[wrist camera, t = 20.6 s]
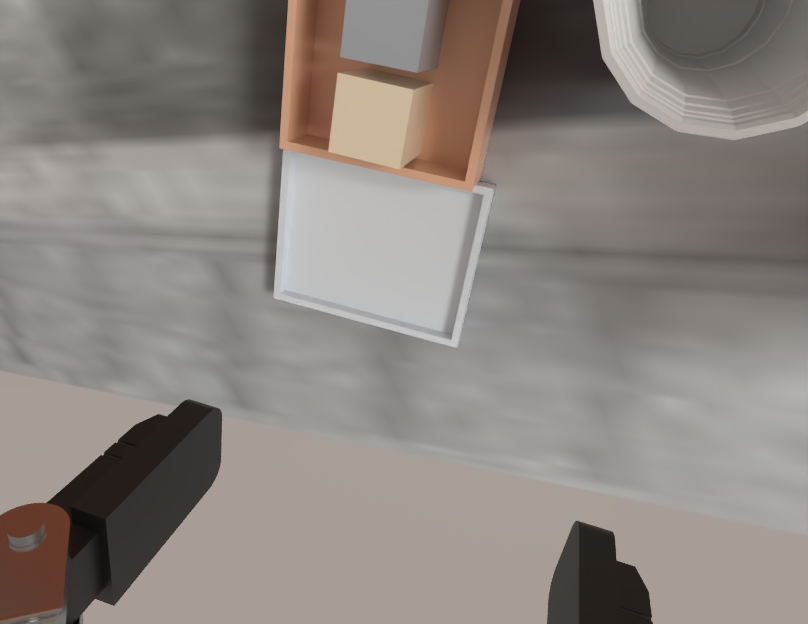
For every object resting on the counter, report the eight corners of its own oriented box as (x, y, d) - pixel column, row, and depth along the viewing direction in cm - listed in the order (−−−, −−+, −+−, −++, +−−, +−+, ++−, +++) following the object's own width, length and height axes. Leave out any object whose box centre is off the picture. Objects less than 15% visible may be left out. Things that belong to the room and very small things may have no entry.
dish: (524, -19, 33) (518, -26, 29) (481, 177, 38) (471, 191, 34) (321, -53, 35) (292, -63, 31) (305, 138, 40) (279, 148, 36)
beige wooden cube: (434, 83, 35) (413, 89, 31) (420, 153, 37) (399, 169, 33) (367, 67, 36) (337, 72, 31) (357, 138, 38) (328, 151, 33)
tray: (496, 184, 38) (493, 189, 37) (459, 340, 43) (456, 348, 42) (291, 138, 40) (283, 141, 39) (280, 291, 45) (273, 298, 44)
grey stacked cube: (451, -13, 33) (432, -21, 28) (437, 67, 35) (417, 72, 30) (379, -26, 34) (349, -35, 29) (369, 54, 35) (340, 57, 31)
